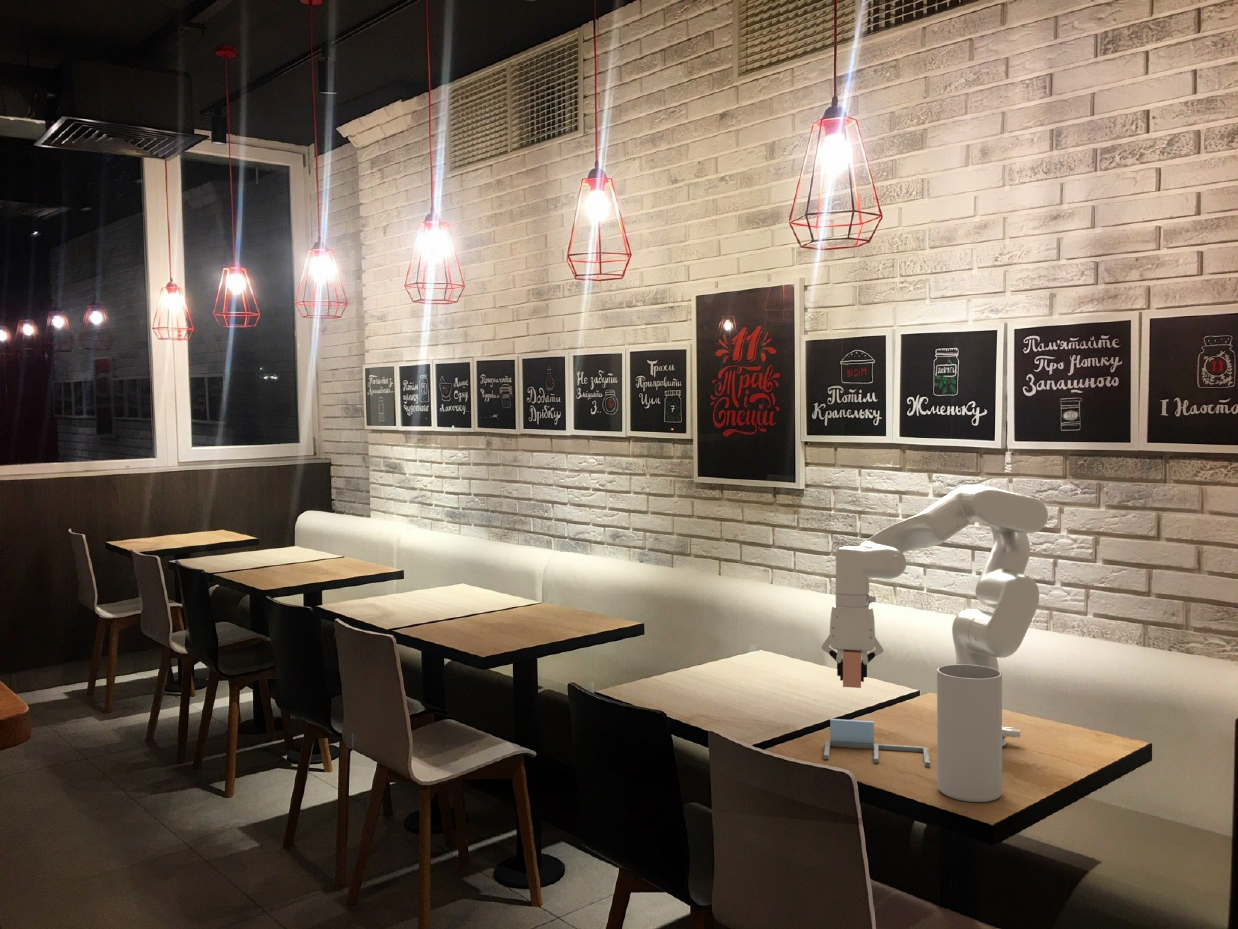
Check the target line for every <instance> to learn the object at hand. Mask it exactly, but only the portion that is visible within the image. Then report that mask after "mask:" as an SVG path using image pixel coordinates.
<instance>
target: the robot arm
mask: <svg viewBox="0 0 1238 929" xmlns="http://www.w3.org/2000/svg"><path fill="white" fill-rule="evenodd" d="M1048 518H1049V513H1048V509H1047V507H1046V504H1044V503H1043V501H1042V500H1040V499H1038V498H1037V497H1034V496H1029V495H1026V494H1025V495H1024V494H1020V493H1016V492H1011V491H1007V490H1003V489H999V488H996V487H992V486H981V485H970V484H969V485H968V484H967V485H962V486H959V487H957V488H956V489H954V490H951V492H949V493H947V495H945V496H943V497H942V498H941V499H939V500H938V501H935V503H933V504H931V505H930V506H929V507H927V508H925V509H924V510H922V512H919V513H918V514H916V515H914V516H911V517H908V518H906V519H903V520H901V521H899V522H897V523H893V524H892V525H889V526H887V527H885V528H883V529H881V530H880V531H878V532H876V533H874V534H873V535H872V536H871V537H869V538H867V539H865V541H863V542H862V543H860V545H859V546H853V545H852V546H848V545H847V546H842V547H839V548H837V549H836V551H835V604H832V606H831V611H830V619H829V620H830V621H829V635H828V636H827V638H826V639H825V640H824V642H823V643H822V645H821V647H820V648H821V650H823V651H824V652H825V653H827V654H828V655H829V656H830V657H831V658H832V659H833V660H834V661H835V662H836V669H837V670H836V676H837V677H839V680H840V681H841V682H843V650H849V651H861V683H864V682H865V678H866V679H867V678H868V665H869V663H870V662H871V661H872V660H874V658H875V657H877V656H879V655H881V654H882V653H884V648H883V647H882V644H881V643H880V641H879V640H878V639H877V637H876V628H875V624H876V623H875V614H874V608H873V606H871V604H872V603H876V601H877V600H876V595H875V596H873V595H871V594H870V579H872V578H873V579H882V580H892V579H896V578H898V577H900V576H901V575H902V574H903V573H904V572H905V570H906V568H907V559H906V556H905V555H904V553H907V552H910V551H914V550H917V549H918V550H919V549H926V548H930V547H931V548H932V547H935V546H939V545H941V544H943V543H944V542H946V541H947V540H949V539H950V538H951V537H953V536H954V535H956V534H957V533H958V532H960V531H962V530H963V529H965V528H966V527H968V526H969V525H971V524H973V523H983V524H987V525H989V526H990V531H991V533H992V537H993V540H992V542H993V543H992V548H991V550H990V552H989V553H990V554H989V557H988V559H987V561H986V563H985V564H984V565H985V566H984V567H983V570H982V571H981V574H980V576H979V577H978V578H979V579H978V581H977V583H976V586H975V591H974V592H975V597H976V599H977V600H978V602H980V603H981V604H983V605H984V606H986V607H989V608H991V609H994V611H993V612H991V611H990V612H989V611H987V610H982V609H979V608H967V609H964V610H962V611H960V612H959V613H958V614H957V615H956V617H955V618H954V620H953V621H952V629H951V632H952V634H951V635H952V640H953V644H954V651H955V662H956V664H966V665H978V666H985V667H989V668H993V669H996V670H998V671H1000V670H999V663H998V658H999V659H1002V658H1003V659H1004V658H1008V657H1010V656H1012V655H1014V654H1015V653H1016V652H1017V650H1019V648H1020V647H1021V645H1022V643H1023V641H1024V639H1025V636H1026V634H1027V631H1028V630H1029V627H1030V625H1031V623H1032V621H1033V619H1034V616H1035V614H1036V611H1037V609H1038V606H1039V604H1040V603H1039V602H1040V590H1039V587H1038V584H1037V582H1036V581H1035V580H1034V579H1033V578H1032V577H1031V576H1029V575H1027V574H1025V570H1026V568H1027V565H1028V562H1029V559H1030V555H1031V545H1030V544H1031V543H1030V540H1029V537H1028V534H1033V533H1038V532H1040V531H1041V530H1042V529H1043V528H1044V527H1045V526H1046V525H1047V522H1048ZM868 652H869V653H868ZM1007 737H1008V738H1014V739H1015V738H1017V739H1018V738H1019V739H1020V738H1021V730H1020V729H1018V728H1017V729H1016V728H1014V727H1013V726H1002V748H1003V747H1004V746H1005V745H1006V744H1007V743H1006V742H1007V739H1006V738H1007Z"/></svg>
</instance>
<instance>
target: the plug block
mask: <svg viewBox="0 0 1238 929" xmlns="http://www.w3.org/2000/svg"><path fill="white" fill-rule="evenodd" d="M842 659H843V680H842V688H856V689H857V688H859V689H862V681H861V663H862V654H861V651H849V650H843V654H842Z"/></svg>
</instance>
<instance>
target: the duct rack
mask: <svg viewBox="0 0 1238 929" xmlns="http://www.w3.org/2000/svg"><path fill="white" fill-rule="evenodd" d="M829 722H830V724H829V725H830V729H829V730H830V734H829V735H830V736H829V737H830V740H827V739H826V740H825V746H824V753H823V760H824V759H825V761H827V760H826V759H828V760H829V759H830V751H831V747H838V748H839V747H840V748H854V749H867V750H868V749H869V750H870V749H871V750H873V763H874V764H879V750H882V749H883V750H882V751H884V750H885V751H898V752H913V753H922V755H923V760H924V767H927V768H930V767H931V761H930V756H929V749H928V746H918V745H917V746H915V745H902V744H900V745H899V744H888V743H886V744H885V743H875V741H874V740H875V725H874V724H875V722H874V721H873V720H872V721H871V720H855V719H840V718H830V720H829Z"/></svg>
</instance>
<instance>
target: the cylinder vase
mask: <svg viewBox="0 0 1238 929" xmlns="http://www.w3.org/2000/svg"><path fill="white" fill-rule="evenodd" d="M936 679H937V680H936V727H937V728H936V729H937V733H936V734H937V736H936V739H937V742H936V744H937V750H936V751H937V752H936V754H937V756H936V757H937V758H936V759H937V762H936V763H937V765H936V767H937V768H936V771H937V783H936V784H937V788H938V790H939V792H940V793H942V794H943V795H945V796H947V797H949V798H951V799H954V800H957V801H962V802H969V803H988V802H993V801H996V800H997V799H999V798H1000V797H1001V796H1002V794H1003V747H1002V727H1003V673H1002V672H1001V671H1000V670H999V671H998V670H996V669H993V668H989V667H985V666H978V665H966V664H955V663H954V664H945V665H942V666H939V667H938V668H936Z"/></svg>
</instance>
